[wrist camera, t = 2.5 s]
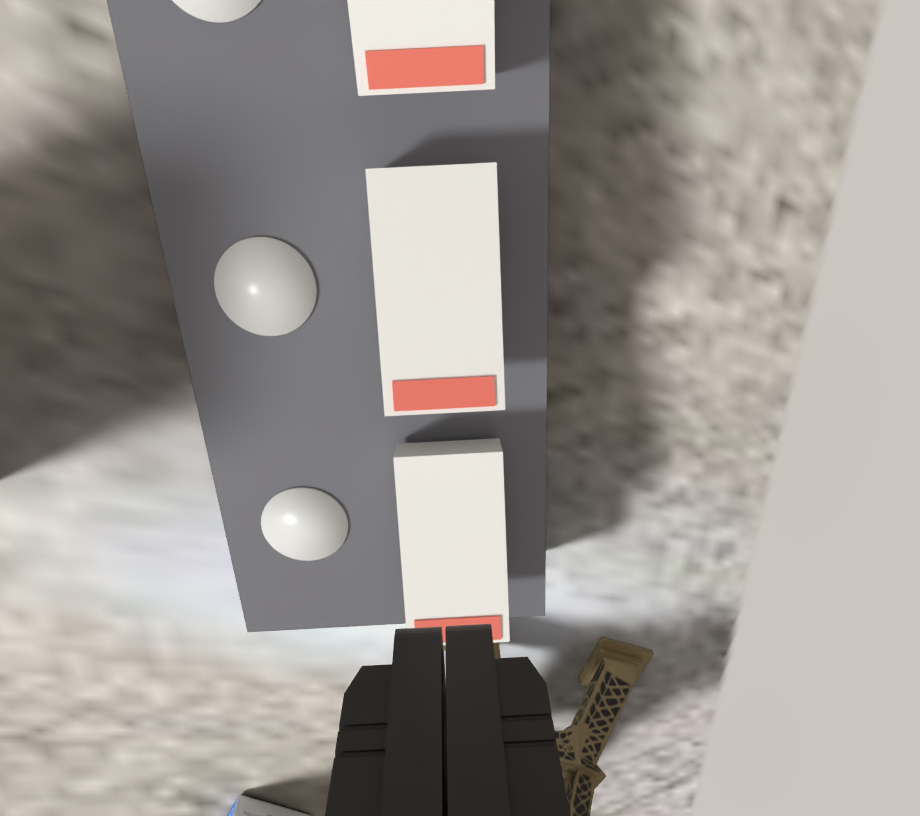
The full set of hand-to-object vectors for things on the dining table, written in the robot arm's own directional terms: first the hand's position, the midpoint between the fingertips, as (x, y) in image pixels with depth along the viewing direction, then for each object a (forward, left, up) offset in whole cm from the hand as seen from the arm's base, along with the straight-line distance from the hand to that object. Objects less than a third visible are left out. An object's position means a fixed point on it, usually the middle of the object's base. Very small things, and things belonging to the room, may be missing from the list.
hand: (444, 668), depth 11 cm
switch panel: (-7, -2, -18) cm, 19 cm away
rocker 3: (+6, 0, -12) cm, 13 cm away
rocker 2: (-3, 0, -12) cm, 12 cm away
